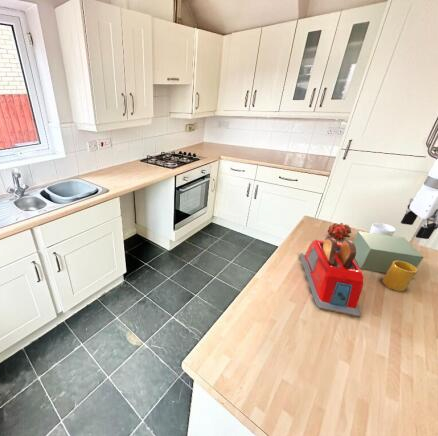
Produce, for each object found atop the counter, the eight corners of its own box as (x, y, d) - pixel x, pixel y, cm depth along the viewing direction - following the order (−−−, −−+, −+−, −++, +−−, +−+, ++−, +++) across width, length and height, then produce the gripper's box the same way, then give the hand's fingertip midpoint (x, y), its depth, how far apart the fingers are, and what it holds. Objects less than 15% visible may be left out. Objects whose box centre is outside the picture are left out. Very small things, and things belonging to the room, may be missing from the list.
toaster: (362, 318, 78) (388, 274, 69) (316, 309, 82) (335, 265, 73) (332, 259, 105) (348, 222, 96) (298, 254, 109) (311, 217, 100)
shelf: (393, 256, 106) (404, 237, 101) (410, 277, 94) (423, 257, 90) (349, 249, 111) (358, 231, 106) (360, 268, 99) (370, 248, 95)
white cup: (369, 248, 111) (378, 230, 106) (360, 239, 118) (368, 221, 113) (389, 251, 109) (400, 232, 105) (379, 241, 116) (388, 223, 111)
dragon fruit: (345, 238, 122) (328, 246, 119) (334, 224, 125) (317, 231, 122) (360, 232, 114) (342, 241, 111) (348, 217, 117) (330, 225, 114)
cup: (399, 281, 93) (411, 262, 88) (408, 292, 88) (421, 273, 83) (379, 277, 95) (389, 259, 91) (386, 288, 90) (398, 269, 85)
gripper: (479, 195, 67) (443, 246, 75) (440, 176, 81) (413, 221, 89) (443, 192, 69) (412, 241, 77) (411, 174, 83) (388, 217, 92)
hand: (413, 230), depth 83 cm, fingers open, 9 cm apart
